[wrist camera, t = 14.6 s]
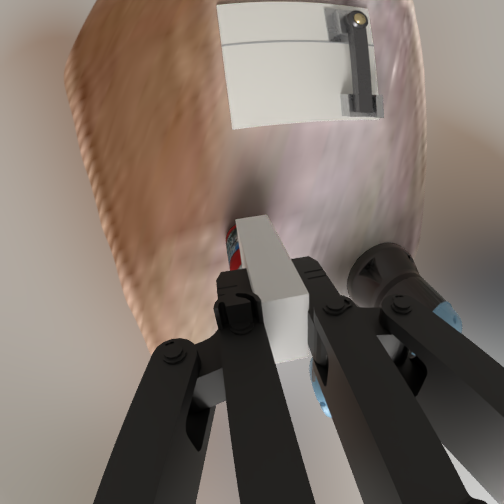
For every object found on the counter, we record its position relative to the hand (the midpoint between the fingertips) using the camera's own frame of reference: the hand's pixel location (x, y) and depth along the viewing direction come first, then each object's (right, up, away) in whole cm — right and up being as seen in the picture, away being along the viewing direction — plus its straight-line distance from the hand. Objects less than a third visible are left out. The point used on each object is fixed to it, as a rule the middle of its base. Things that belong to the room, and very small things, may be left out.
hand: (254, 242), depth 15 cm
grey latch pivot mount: (+14, +34, +20) cm, 42 cm away
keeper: (+16, +22, +27) cm, 38 cm away
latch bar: (+15, +27, +20) cm, 37 cm away
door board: (+8, +28, +24) cm, 38 cm away
